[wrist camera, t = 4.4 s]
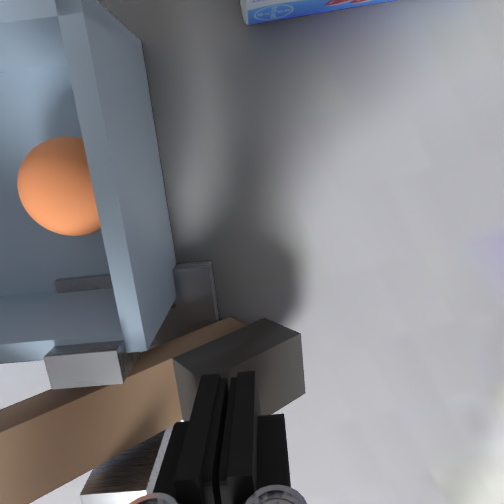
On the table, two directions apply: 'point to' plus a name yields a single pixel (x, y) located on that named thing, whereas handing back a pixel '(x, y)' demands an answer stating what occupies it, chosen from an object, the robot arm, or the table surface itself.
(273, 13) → the medicine box
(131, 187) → the bin
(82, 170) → the ball
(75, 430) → the lever
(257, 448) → the robot arm
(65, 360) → the fulcrum
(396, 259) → the table surface
